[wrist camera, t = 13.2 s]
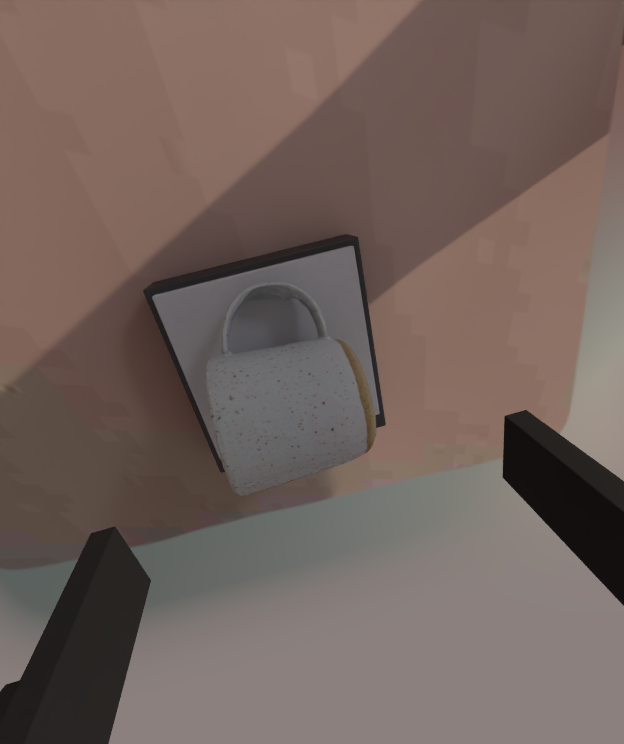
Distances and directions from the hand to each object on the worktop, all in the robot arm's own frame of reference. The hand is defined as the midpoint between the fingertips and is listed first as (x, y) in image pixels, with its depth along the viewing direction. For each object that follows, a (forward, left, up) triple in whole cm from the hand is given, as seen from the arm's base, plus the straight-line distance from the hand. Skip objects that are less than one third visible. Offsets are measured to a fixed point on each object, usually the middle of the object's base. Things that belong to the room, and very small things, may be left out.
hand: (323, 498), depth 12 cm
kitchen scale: (0, +1, -16) cm, 16 cm away
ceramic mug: (+1, 0, -13) cm, 13 cm away
